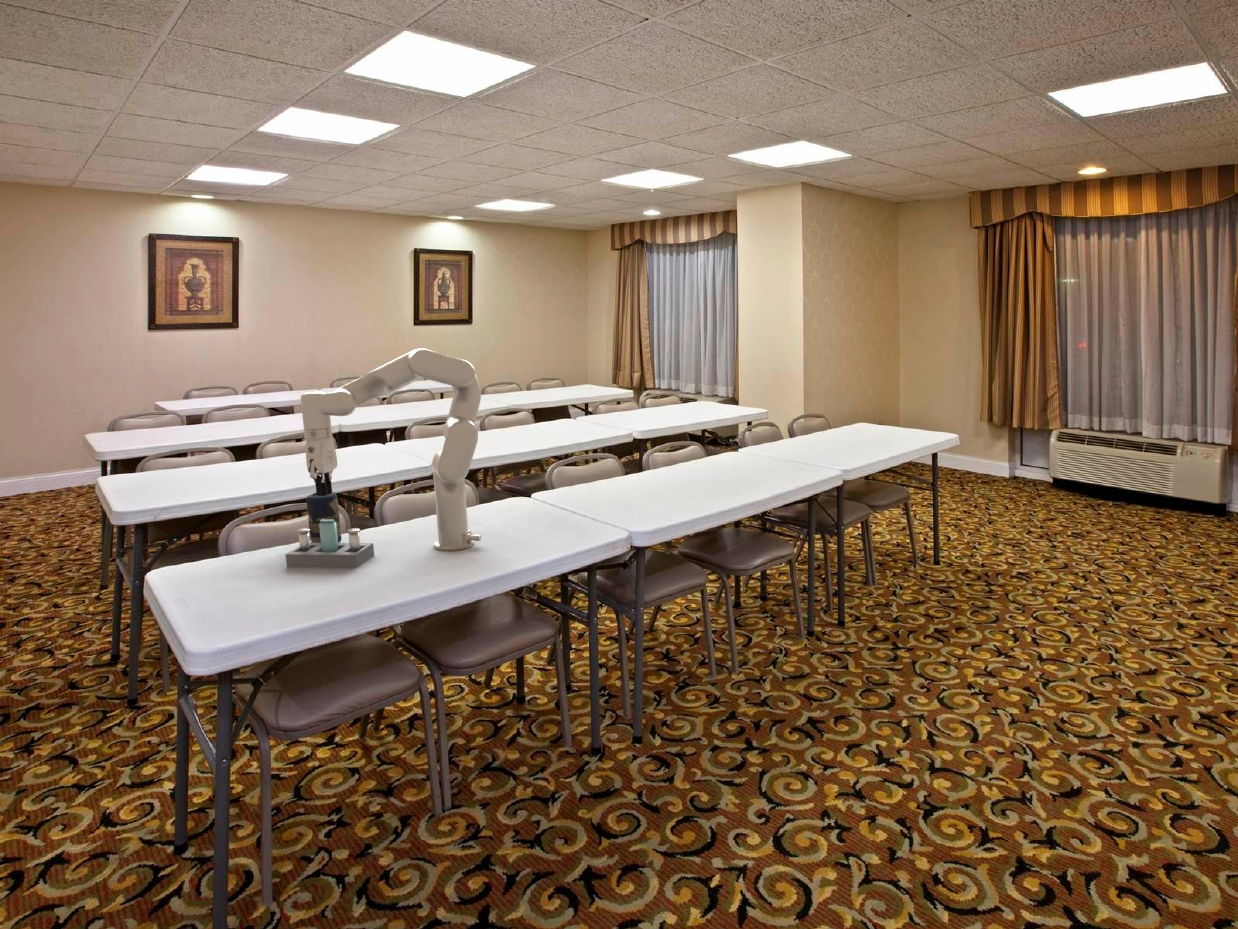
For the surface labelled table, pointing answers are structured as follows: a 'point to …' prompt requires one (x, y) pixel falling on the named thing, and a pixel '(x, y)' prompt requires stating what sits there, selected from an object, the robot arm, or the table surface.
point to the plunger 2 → (354, 539)
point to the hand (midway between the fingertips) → (324, 494)
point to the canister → (322, 514)
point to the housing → (330, 556)
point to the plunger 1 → (304, 539)
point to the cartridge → (328, 535)
